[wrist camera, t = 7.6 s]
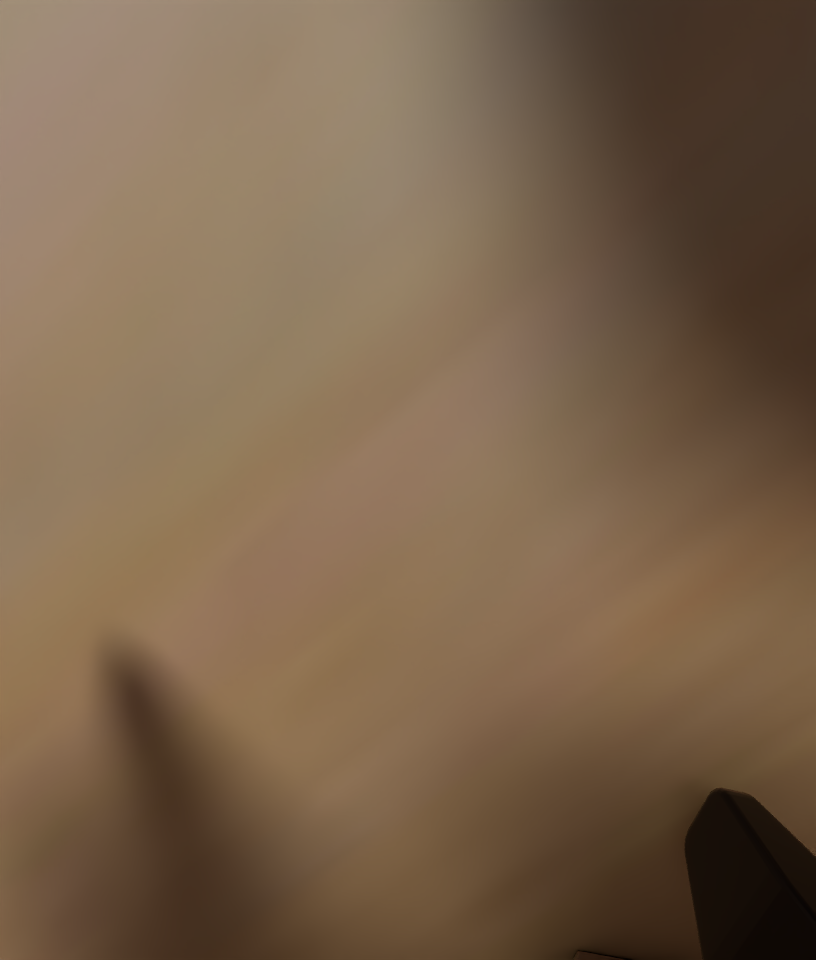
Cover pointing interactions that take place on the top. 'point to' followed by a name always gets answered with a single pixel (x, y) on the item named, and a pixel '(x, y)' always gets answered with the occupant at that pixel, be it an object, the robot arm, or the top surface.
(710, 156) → the top surface
